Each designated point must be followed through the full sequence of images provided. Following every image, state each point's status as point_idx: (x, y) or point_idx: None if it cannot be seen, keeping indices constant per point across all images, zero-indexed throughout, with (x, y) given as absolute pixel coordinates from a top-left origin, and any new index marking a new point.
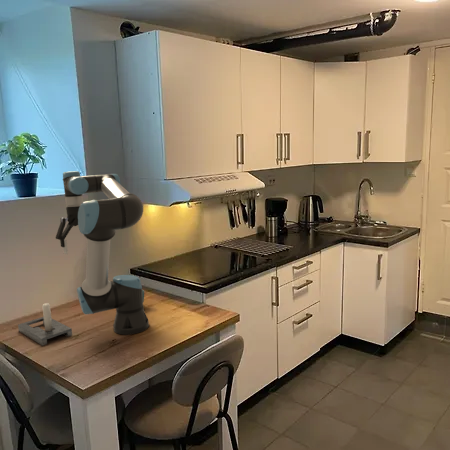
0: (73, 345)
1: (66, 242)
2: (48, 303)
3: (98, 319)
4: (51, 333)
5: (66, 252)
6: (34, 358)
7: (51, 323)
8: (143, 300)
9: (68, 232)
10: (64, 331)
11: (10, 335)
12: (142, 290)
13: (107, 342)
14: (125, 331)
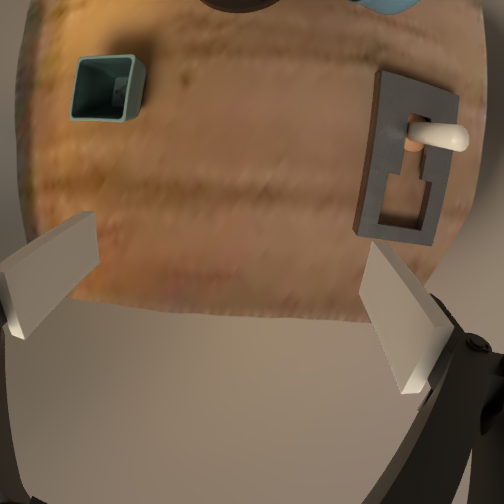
0: (406, 23)
1: (421, 304)
2: (449, 138)
3: (254, 100)
4: (431, 97)
5: (389, 248)
6: (483, 62)
7: (421, 123)
8: (100, 65)
9: (430, 423)
10: (402, 76)
11: (446, 231)
12: (78, 67)
13: None
14: None
